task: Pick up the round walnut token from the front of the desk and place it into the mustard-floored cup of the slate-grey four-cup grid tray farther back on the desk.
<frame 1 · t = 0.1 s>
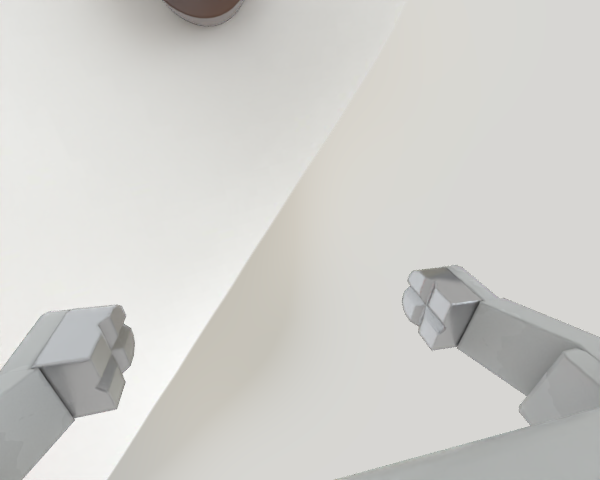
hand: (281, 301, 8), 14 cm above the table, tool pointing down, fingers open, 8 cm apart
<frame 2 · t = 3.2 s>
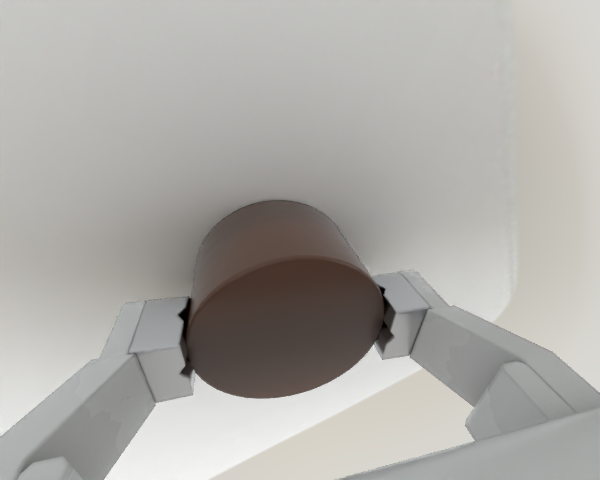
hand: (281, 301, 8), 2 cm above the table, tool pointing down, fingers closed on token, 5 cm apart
token: (274, 268, 9), on the table, touching gripper
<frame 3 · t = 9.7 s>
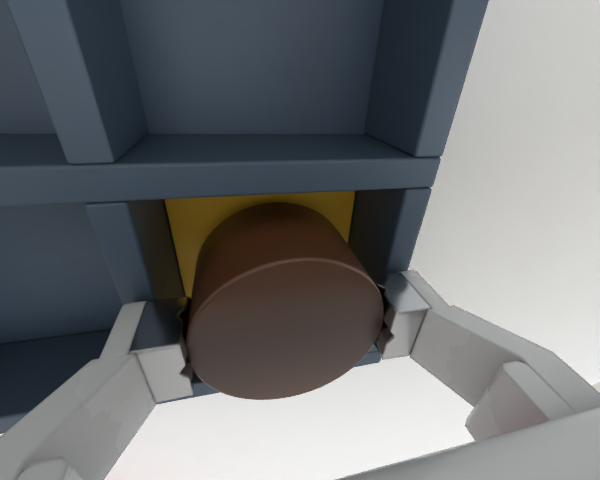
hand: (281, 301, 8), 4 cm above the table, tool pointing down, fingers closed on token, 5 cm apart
grid: (142, 143, 9), on the table
token: (274, 269, 10), point 2 cm above the table, touching gripper
when the fingers open (5 cm above the table, at t = 19.0 s): token drops 2 cm, resting on grid.
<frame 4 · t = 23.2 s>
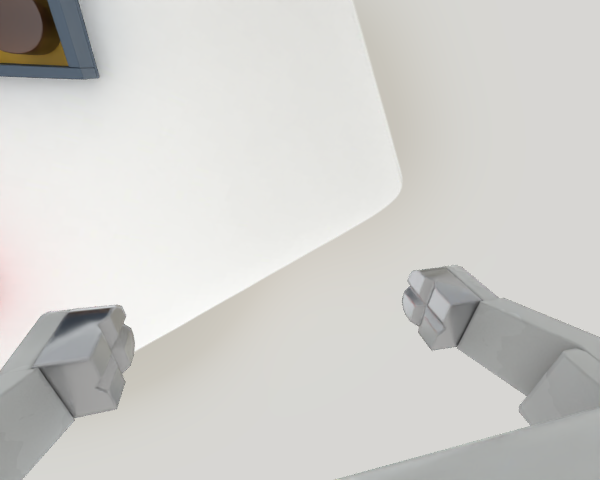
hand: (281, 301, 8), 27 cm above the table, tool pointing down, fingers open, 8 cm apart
token: (23, 17, 22), point 1 cm above the table, touching grid
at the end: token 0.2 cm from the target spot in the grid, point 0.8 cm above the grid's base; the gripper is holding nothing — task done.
